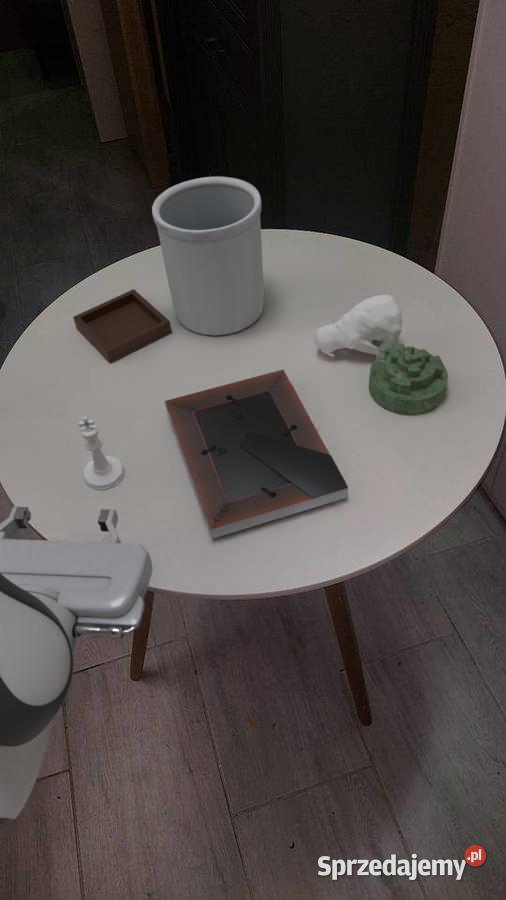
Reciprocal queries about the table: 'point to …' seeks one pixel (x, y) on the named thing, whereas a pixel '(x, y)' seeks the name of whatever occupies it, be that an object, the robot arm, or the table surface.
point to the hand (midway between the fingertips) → (66, 511)
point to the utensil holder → (212, 253)
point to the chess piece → (99, 460)
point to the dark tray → (122, 325)
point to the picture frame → (253, 453)
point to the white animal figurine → (363, 327)
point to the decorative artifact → (407, 380)
